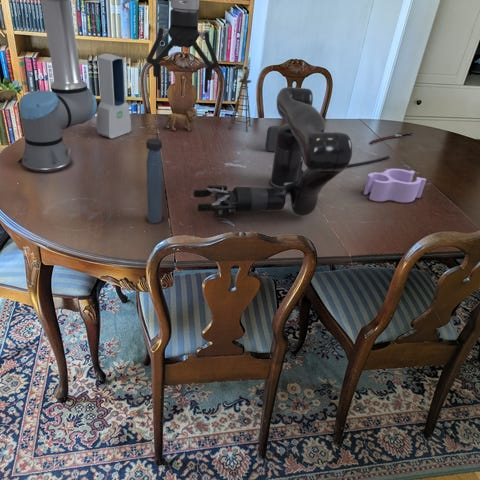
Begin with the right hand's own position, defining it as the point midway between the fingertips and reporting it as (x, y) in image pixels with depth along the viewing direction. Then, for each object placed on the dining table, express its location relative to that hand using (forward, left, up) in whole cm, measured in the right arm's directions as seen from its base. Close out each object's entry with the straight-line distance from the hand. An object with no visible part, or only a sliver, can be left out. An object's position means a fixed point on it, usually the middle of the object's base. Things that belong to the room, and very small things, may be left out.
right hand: (195, 200), depth 135 cm
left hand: (-6, -19, +26) cm, 33 cm away
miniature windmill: (-61, -58, -6) cm, 84 cm away
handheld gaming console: (-64, -28, -6) cm, 71 cm away
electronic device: (-8, -72, -6) cm, 73 cm away
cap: (+11, -5, +17) cm, 21 cm away
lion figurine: (-35, -66, -6) cm, 75 cm away
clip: (-69, +19, -6) cm, 72 cm away
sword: (-118, -18, -6) cm, 119 cm away
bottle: (+11, -5, -6) cm, 13 cm away
